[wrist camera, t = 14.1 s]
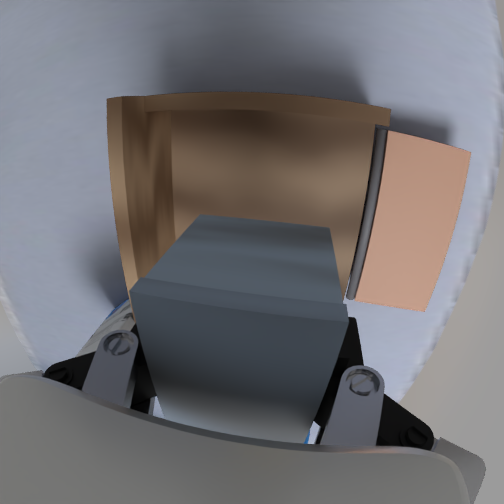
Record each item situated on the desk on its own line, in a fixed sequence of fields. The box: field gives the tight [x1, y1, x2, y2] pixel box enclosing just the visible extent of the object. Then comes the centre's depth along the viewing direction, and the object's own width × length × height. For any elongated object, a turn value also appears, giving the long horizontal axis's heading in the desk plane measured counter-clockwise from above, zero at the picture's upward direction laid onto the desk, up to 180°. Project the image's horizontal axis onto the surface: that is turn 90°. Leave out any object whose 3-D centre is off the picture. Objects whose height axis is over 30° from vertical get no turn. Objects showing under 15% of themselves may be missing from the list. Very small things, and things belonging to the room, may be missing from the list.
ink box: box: [76, 299, 135, 357], centre depth 25 cm, size 9×5×12 cm, turn 126°
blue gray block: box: [129, 214, 349, 444], centre depth 10 cm, size 7×5×5 cm, turn 177°
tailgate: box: [346, 128, 471, 312], centre depth 20 cm, size 13×1×7 cm
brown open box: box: [107, 92, 391, 323], centre depth 19 cm, size 16×15×8 cm
